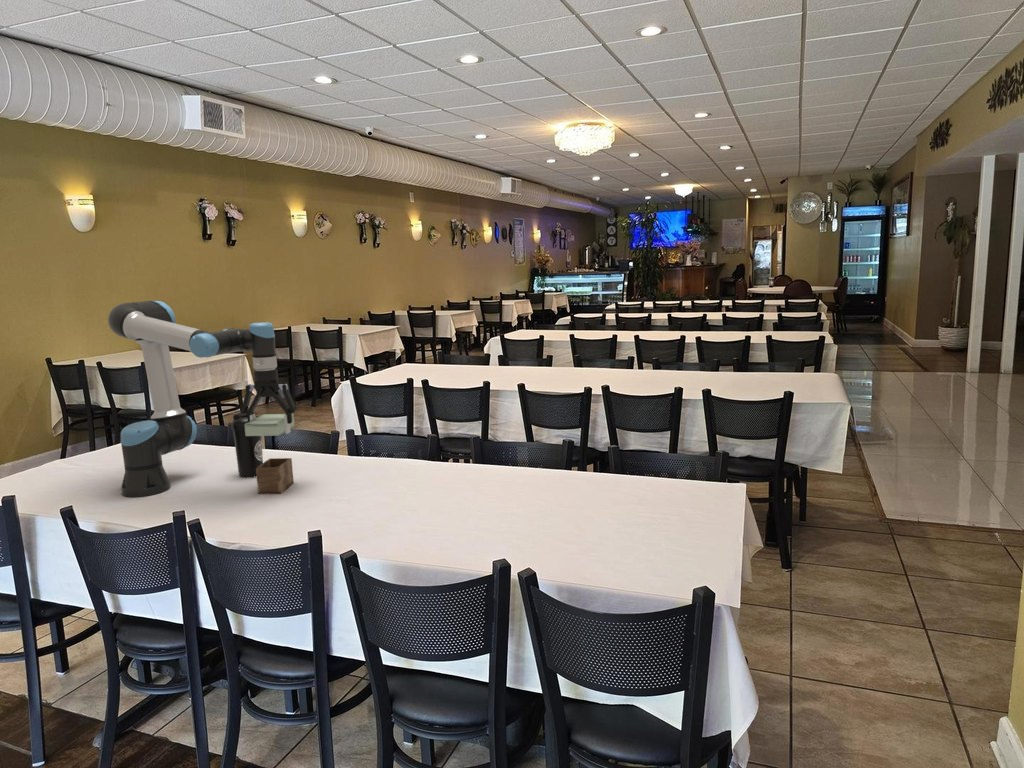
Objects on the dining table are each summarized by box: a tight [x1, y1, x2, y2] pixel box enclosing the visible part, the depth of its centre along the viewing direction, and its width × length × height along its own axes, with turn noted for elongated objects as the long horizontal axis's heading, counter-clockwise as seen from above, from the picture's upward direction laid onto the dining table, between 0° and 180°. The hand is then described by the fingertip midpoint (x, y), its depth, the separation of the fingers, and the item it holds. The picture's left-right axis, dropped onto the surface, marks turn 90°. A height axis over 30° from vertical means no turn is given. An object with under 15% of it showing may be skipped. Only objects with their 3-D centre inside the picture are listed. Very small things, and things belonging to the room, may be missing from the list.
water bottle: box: [231, 411, 264, 479], centre depth 260 cm, size 10×10×23 cm
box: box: [256, 457, 295, 495], centre depth 244 cm, size 12×8×9 cm, turn 177°
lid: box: [245, 413, 295, 437], centre depth 241 cm, size 15×11×4 cm
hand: (271, 433), depth 241 cm, fingers closed on lid, 11 cm apart
